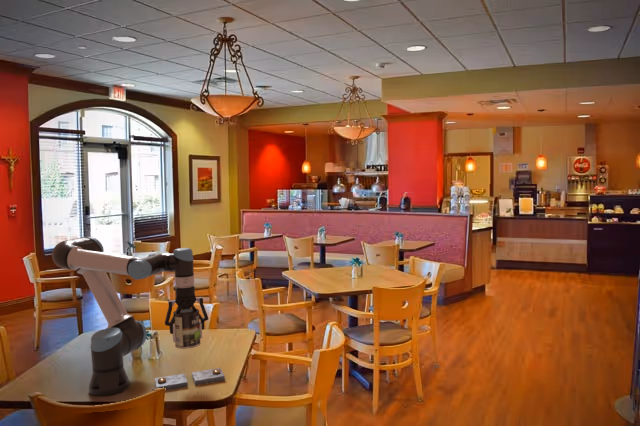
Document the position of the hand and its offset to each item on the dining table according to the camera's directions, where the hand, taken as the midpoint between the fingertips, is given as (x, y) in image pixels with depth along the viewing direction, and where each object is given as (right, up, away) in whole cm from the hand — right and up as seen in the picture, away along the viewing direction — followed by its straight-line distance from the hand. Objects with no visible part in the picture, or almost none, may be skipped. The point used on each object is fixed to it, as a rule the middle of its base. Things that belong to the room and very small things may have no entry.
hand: (187, 339), depth 217 cm
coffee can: (0, -2, 0) cm, 3 cm away
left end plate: (-6, -18, -2) cm, 19 cm away
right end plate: (+8, -17, +4) cm, 19 cm away
